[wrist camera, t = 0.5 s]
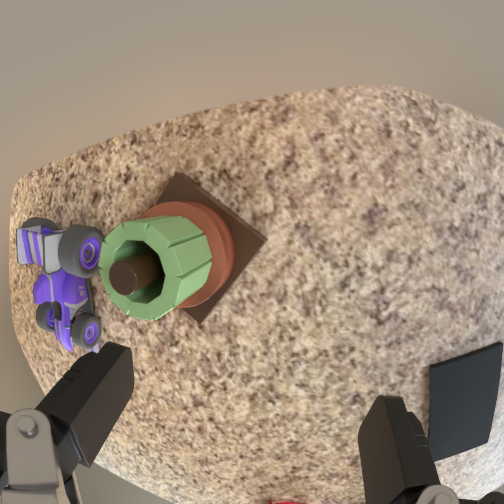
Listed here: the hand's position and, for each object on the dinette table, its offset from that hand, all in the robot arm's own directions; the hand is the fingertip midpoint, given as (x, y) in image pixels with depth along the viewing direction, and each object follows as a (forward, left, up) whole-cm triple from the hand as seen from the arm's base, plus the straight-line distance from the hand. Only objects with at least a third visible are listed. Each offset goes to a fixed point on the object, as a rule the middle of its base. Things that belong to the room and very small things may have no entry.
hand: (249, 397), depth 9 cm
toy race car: (+17, -17, -17) cm, 29 cm away
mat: (0, +23, -17) cm, 28 cm away
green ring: (+4, -8, -13) cm, 15 cm away
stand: (+4, -8, -17) cm, 19 cm away
